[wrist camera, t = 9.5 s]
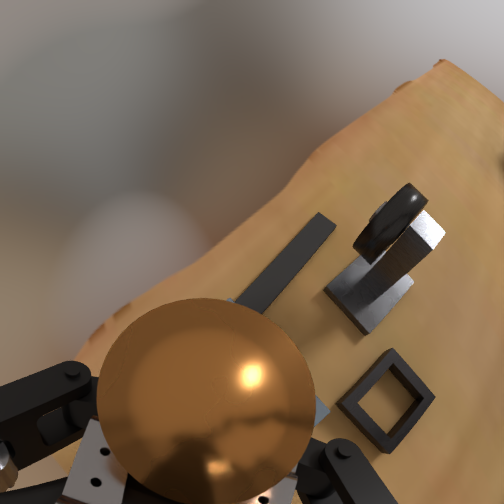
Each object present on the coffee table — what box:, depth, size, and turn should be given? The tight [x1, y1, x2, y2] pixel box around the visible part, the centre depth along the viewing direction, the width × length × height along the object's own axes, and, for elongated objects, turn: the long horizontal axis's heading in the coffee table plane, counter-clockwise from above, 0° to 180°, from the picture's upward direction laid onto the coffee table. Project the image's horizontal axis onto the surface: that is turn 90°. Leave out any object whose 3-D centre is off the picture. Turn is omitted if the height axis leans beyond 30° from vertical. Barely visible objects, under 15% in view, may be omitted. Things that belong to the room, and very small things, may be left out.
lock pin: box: [97, 298, 316, 504], centre depth 11 cm, size 4×4×13 cm
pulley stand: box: [324, 183, 446, 336], centre depth 24 cm, size 8×7×12 cm
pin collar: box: [336, 348, 435, 454], centre depth 23 cm, size 7×7×2 cm
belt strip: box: [234, 212, 337, 314], centre depth 29 cm, size 14×2×1 cm, turn 140°
